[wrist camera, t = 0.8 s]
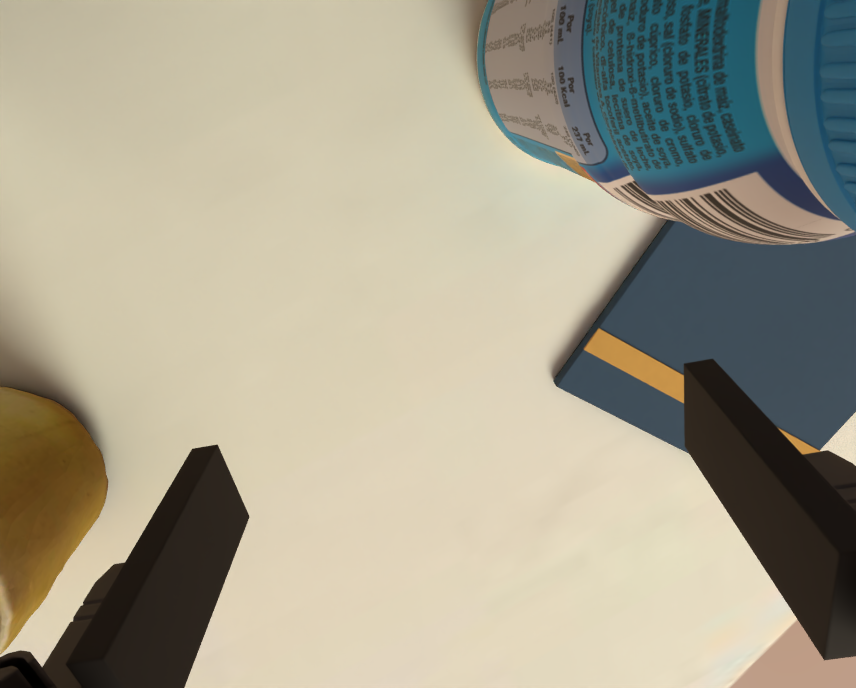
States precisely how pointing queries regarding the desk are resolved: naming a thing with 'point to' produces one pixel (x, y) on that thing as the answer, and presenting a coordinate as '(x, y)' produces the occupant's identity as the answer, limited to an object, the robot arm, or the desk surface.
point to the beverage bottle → (687, 106)
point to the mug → (41, 500)
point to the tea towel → (727, 334)
